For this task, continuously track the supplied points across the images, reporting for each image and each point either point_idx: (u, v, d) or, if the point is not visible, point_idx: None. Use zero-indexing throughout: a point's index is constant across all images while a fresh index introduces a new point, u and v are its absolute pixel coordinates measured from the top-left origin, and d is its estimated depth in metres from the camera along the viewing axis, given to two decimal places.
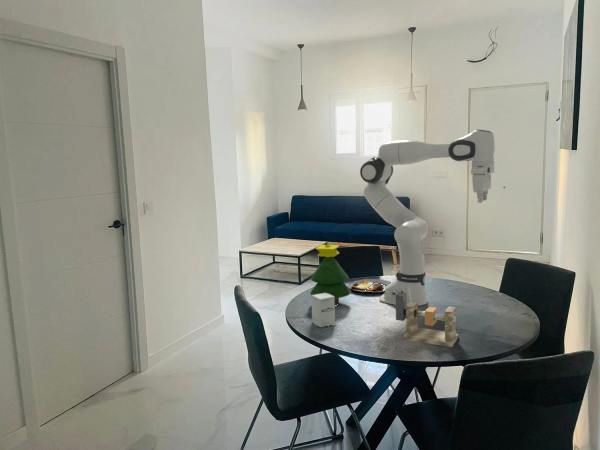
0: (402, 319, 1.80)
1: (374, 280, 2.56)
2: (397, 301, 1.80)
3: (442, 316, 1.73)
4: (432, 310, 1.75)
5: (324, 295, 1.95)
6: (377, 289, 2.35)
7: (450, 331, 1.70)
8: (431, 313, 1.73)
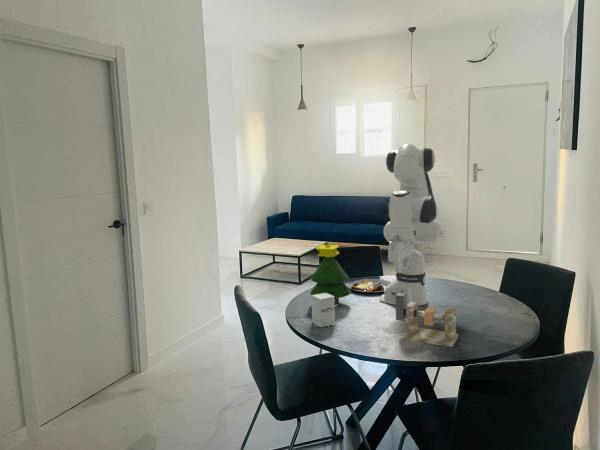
0: (402, 319, 1.80)
1: (374, 280, 2.56)
2: (397, 301, 1.80)
3: (442, 316, 1.73)
4: (431, 310, 1.75)
5: (324, 295, 1.95)
6: (377, 289, 2.35)
7: (450, 331, 1.70)
8: (430, 313, 1.73)
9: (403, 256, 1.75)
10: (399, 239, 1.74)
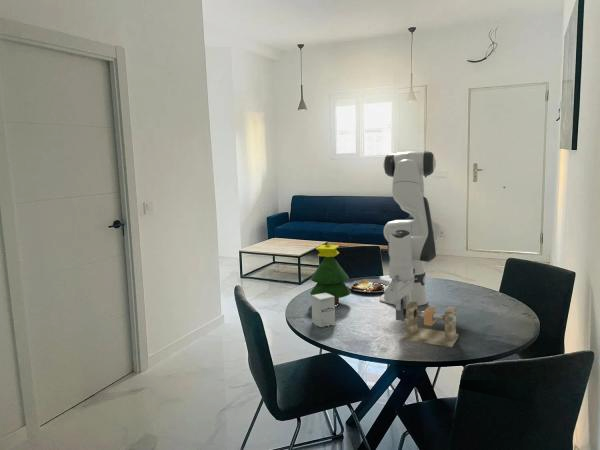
0: (402, 319, 1.80)
1: (374, 280, 2.56)
2: None
3: (442, 316, 1.73)
4: (431, 310, 1.75)
5: (324, 295, 1.95)
6: (377, 289, 2.35)
7: (450, 331, 1.70)
8: (430, 313, 1.73)
9: (402, 295, 1.78)
10: (398, 279, 1.76)
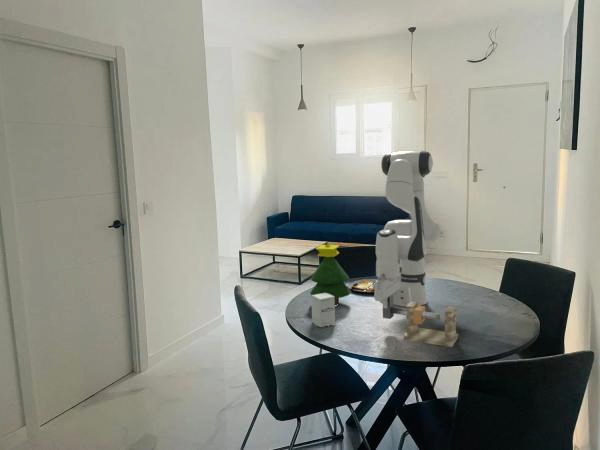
0: (389, 317, 1.83)
1: (374, 280, 2.56)
2: None
3: (428, 314, 1.76)
4: (420, 308, 1.77)
5: (324, 295, 1.95)
6: None
7: (450, 331, 1.70)
8: (419, 311, 1.76)
9: (389, 294, 1.80)
10: (385, 278, 1.79)
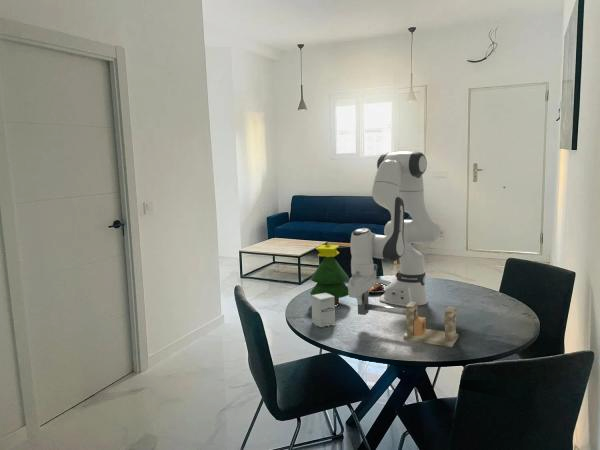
0: (363, 313, 1.89)
1: None
2: None
3: (400, 310, 1.81)
4: (421, 320, 1.78)
5: (324, 295, 1.95)
6: (377, 289, 2.35)
7: (450, 331, 1.70)
8: (420, 323, 1.76)
9: (363, 291, 1.86)
10: (359, 275, 1.84)
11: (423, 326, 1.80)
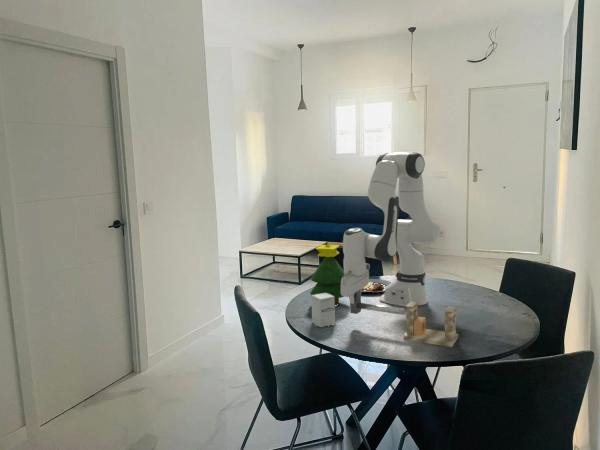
0: (356, 312, 1.90)
1: (374, 280, 2.56)
2: None
3: (392, 309, 1.83)
4: (421, 320, 1.78)
5: (324, 295, 1.95)
6: (377, 289, 2.35)
7: (450, 331, 1.70)
8: (420, 323, 1.76)
9: (355, 290, 1.88)
10: (351, 274, 1.86)
11: (423, 326, 1.80)
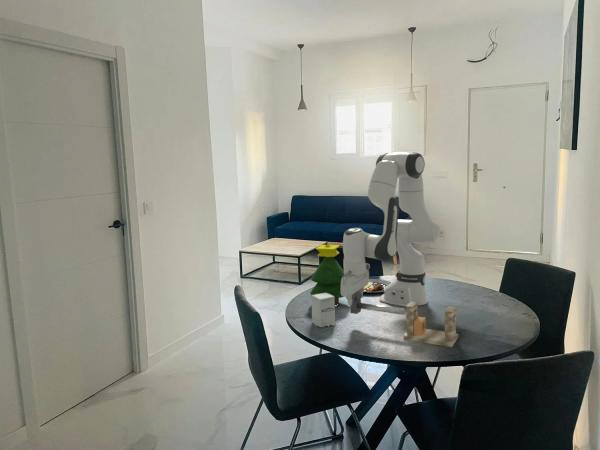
0: (356, 312, 1.90)
1: (374, 280, 2.56)
2: None
3: (392, 309, 1.83)
4: (421, 320, 1.78)
5: (324, 295, 1.95)
6: (377, 289, 2.35)
7: (450, 331, 1.70)
8: (420, 323, 1.76)
9: (355, 290, 1.88)
10: (351, 274, 1.86)
11: (423, 326, 1.80)
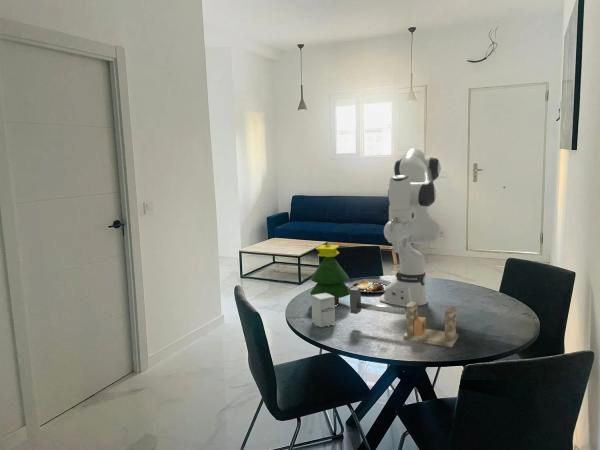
0: (356, 312, 1.90)
1: (374, 280, 2.56)
2: (351, 295, 1.90)
3: (392, 309, 1.83)
4: (421, 320, 1.78)
5: (324, 295, 1.95)
6: (377, 289, 2.35)
7: (450, 331, 1.70)
8: (420, 323, 1.76)
9: (402, 237, 1.85)
10: (398, 221, 1.83)
11: (423, 326, 1.80)
